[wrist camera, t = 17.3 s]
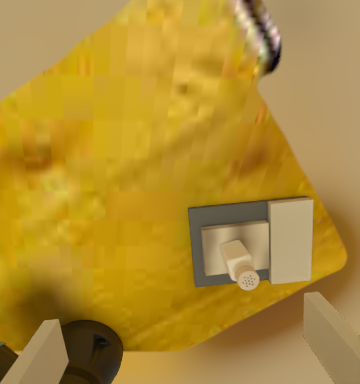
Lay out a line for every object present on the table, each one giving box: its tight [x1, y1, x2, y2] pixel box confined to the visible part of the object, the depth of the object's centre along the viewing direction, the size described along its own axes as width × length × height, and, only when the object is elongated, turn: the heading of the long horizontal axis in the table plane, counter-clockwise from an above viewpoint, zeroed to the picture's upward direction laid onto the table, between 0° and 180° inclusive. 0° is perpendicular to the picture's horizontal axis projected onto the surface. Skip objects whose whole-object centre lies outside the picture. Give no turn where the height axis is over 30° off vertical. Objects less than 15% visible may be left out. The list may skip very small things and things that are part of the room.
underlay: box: [188, 196, 313, 287], centre depth 45 cm, size 22×16×3 cm
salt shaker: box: [219, 240, 259, 290], centre depth 39 cm, size 4×4×10 cm
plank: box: [201, 220, 269, 276], centre depth 44 cm, size 12×9×2 cm
